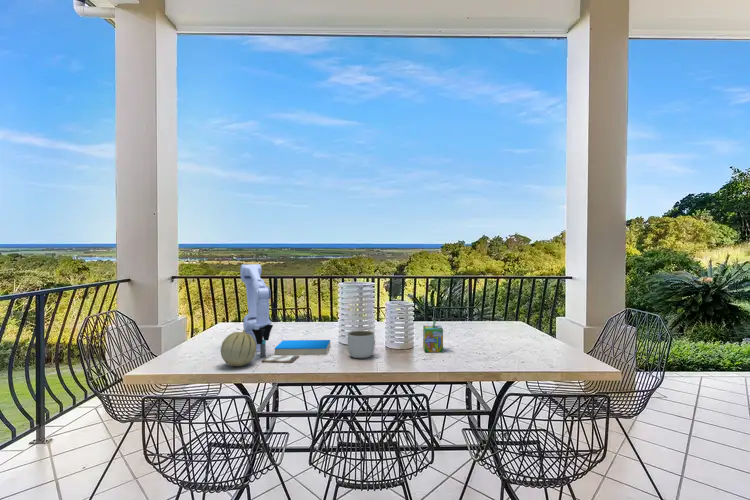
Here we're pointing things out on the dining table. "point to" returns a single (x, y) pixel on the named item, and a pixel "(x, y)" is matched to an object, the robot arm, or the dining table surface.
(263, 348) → the marker
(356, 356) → the planter
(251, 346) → the cantaloupe
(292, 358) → the clipboard
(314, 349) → the book
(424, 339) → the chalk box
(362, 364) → the dining table surface
